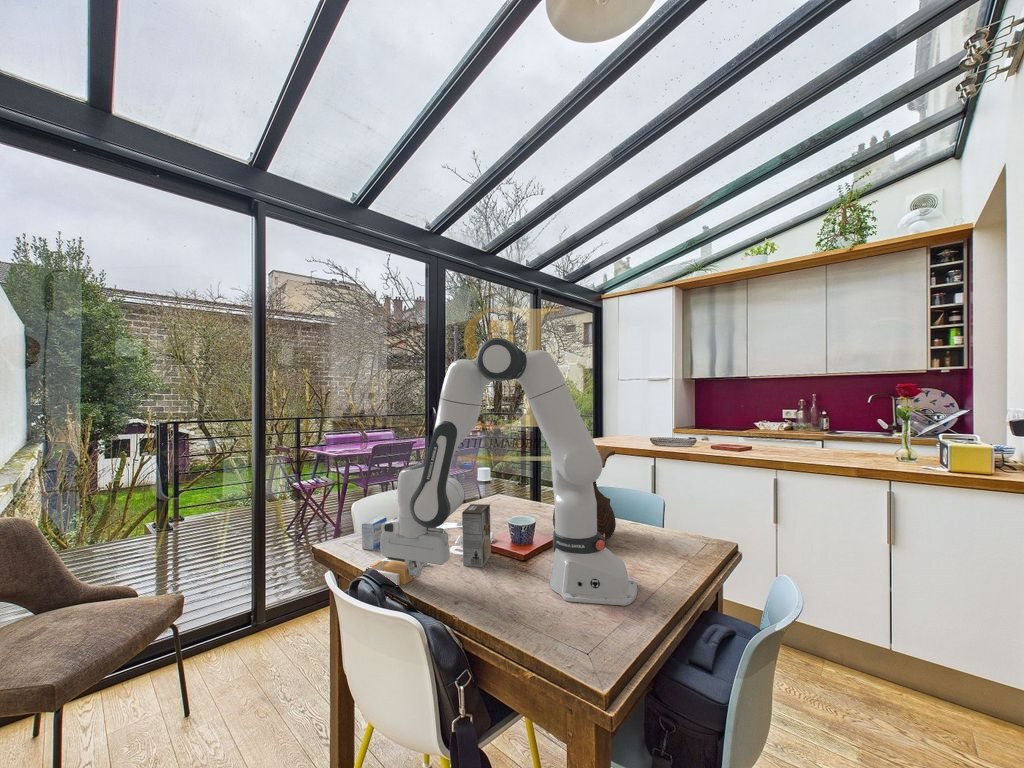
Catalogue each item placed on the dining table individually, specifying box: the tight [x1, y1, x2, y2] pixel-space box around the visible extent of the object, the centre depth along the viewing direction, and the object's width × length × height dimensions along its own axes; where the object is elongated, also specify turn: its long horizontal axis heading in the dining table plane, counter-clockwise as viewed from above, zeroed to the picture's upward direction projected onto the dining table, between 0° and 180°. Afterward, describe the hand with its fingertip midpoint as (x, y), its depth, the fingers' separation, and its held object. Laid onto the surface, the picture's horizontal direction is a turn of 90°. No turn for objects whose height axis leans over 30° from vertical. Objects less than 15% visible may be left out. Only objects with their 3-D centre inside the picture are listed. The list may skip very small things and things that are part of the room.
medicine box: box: [361, 516, 388, 551], centre depth 147 cm, size 8×4×9 cm, turn 161°
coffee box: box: [461, 503, 492, 568], centre depth 134 cm, size 9×6×16 cm
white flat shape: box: [436, 520, 494, 556], centre depth 157 cm, size 35×24×3 cm
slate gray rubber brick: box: [389, 557, 418, 568], centre depth 130 cm, size 7×4×4 cm, turn 69°
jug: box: [552, 447, 617, 542], centre depth 150 cm, size 22×22×30 cm
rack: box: [364, 556, 429, 586], centre depth 126 cm, size 10×15×3 cm
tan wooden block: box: [383, 561, 415, 585], centre depth 122 cm, size 7×4×4 cm, turn 70°
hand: (414, 575), depth 120 cm, fingers closed
